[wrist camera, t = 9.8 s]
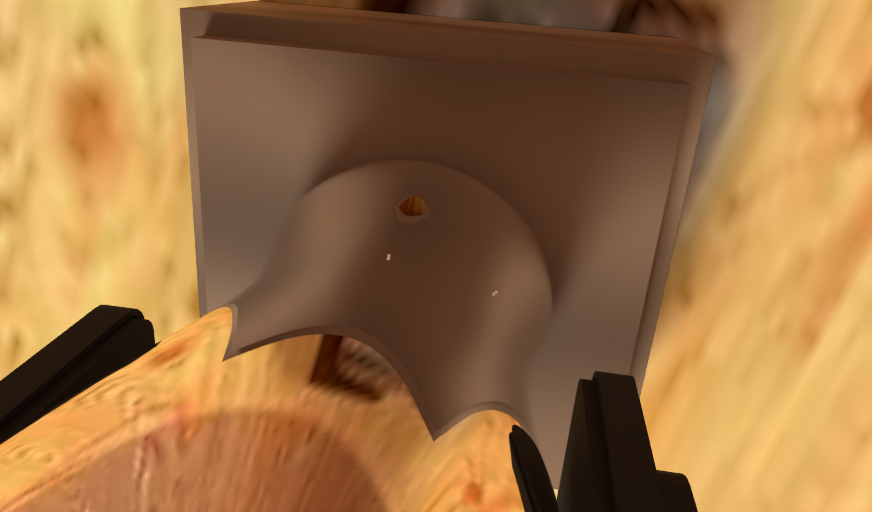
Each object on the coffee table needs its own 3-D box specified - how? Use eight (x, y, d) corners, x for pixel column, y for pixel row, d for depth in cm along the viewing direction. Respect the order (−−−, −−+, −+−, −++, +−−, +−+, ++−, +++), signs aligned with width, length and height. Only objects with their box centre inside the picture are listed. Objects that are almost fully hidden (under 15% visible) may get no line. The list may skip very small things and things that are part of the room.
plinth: (257, 0, 19) (166, 9, 14) (675, 37, 18) (723, 60, 13) (266, 353, 23) (197, 449, 18) (602, 401, 22) (619, 515, 17)
